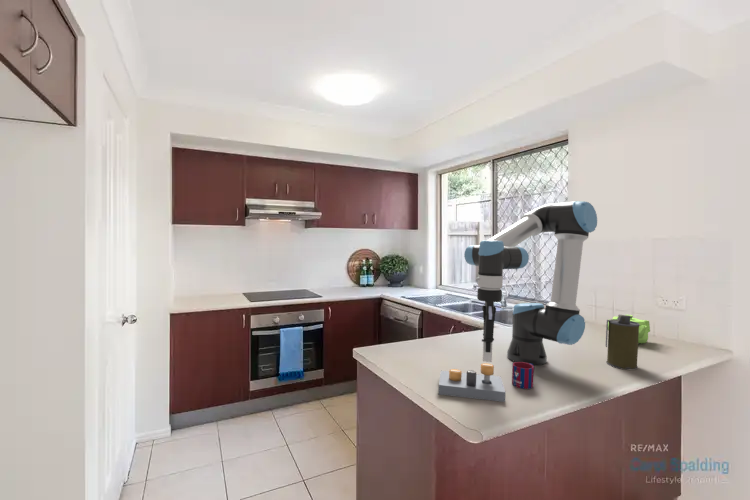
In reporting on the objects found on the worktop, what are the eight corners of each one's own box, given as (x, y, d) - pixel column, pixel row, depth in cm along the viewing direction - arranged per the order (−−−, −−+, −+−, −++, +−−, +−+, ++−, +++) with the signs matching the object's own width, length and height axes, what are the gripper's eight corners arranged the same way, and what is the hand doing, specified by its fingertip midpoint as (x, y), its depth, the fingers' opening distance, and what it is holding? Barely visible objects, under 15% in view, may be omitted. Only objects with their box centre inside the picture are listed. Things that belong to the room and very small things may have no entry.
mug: (507, 383, 126) (508, 363, 126) (526, 378, 131) (526, 359, 131) (524, 390, 120) (525, 370, 120) (543, 384, 126) (544, 365, 125)
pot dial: (475, 383, 118) (476, 370, 118) (476, 387, 115) (476, 373, 115) (466, 382, 119) (466, 369, 118) (466, 386, 116) (466, 373, 115)
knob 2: (492, 379, 121) (493, 363, 120) (493, 384, 117) (494, 367, 116) (480, 378, 121) (480, 362, 121) (480, 383, 118) (481, 366, 117)
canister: (632, 362, 150) (634, 314, 149) (641, 371, 140) (644, 319, 139) (602, 359, 154) (604, 311, 153) (609, 367, 144) (611, 316, 143)
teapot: (665, 348, 171) (667, 320, 171) (622, 347, 172) (623, 319, 171) (637, 337, 190) (639, 312, 189) (598, 336, 190) (600, 311, 189)
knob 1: (461, 385, 123) (461, 369, 123) (461, 390, 119) (461, 373, 119) (449, 384, 124) (449, 368, 124) (448, 388, 120) (449, 372, 120)
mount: (500, 385, 124) (500, 376, 124) (505, 401, 112) (505, 392, 112) (440, 378, 129) (440, 370, 129) (438, 394, 116) (438, 384, 116)
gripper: (476, 285, 125) (474, 353, 126) (478, 290, 112) (476, 366, 113) (499, 286, 123) (497, 355, 124) (504, 291, 111) (501, 369, 112)
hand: (487, 360), depth 119 cm, fingers closed
